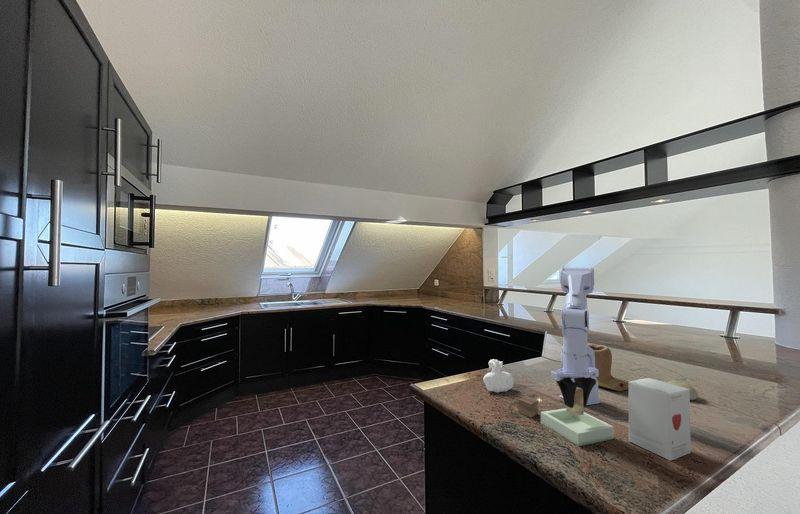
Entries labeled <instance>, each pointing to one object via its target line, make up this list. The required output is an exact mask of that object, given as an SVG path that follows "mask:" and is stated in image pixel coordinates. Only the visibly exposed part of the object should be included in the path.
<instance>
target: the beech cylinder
mask: <svg viewBox="0 0 800 514" xmlns="http://www.w3.org/2000/svg"><path fill="white" fill-rule="evenodd" d="M565 408H566V410H567V412H569V413H571V414H575V415H583V414H584V412H585V411H584V409H585V408H584V406H583V389H581V388H578V387H577V388H576V391H575V396H574V406H573V408H570V407H568V406H566V405H565Z"/></svg>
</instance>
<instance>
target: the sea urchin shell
mask: <svg viewBox="0 0 800 514" xmlns="http://www.w3.org/2000/svg"><path fill="white" fill-rule="evenodd" d="M665 382H666V383H669V384H673V385H677V386H680V387H684V388H687V389H689V390H690V401H695V400H697V399H698V396H699V395H698V392H697V390H696V389H695V388H694V387H693V386H692V385H690V384H688V383H686V382H683V381H679V380H669V381H665Z"/></svg>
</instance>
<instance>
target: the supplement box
mask: <svg viewBox="0 0 800 514" xmlns="http://www.w3.org/2000/svg"><path fill="white" fill-rule="evenodd" d="M628 382H629V389H628V442H630V443H632V444H634V445H636V446H638V447H640V448H643V449H644V450H647V451H648V452H651V453H653V454H656V455H657V456H660V457H662V458H664V459H666V460H668V461H673V460H677V459H678V458H680V457H684V456H686V455H689V454H691V450H692V449H691V448H692V447H691V445H692V443H691V405H690V403H691V400H690V390H689V389H687V388H684V387H680V386H677V385H673V384H669V383H666V382H667V381H661V380H658V379H655V378H652V377H647V378H639V379H636V380H629V381H628Z"/></svg>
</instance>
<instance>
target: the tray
mask: <svg viewBox="0 0 800 514" xmlns="http://www.w3.org/2000/svg"><path fill="white" fill-rule="evenodd" d="M540 424H541V425H544V426H545V427H546V428H547V429H549V430H551V431H553V432H554V433H556V434H557V435H559V436H560V437H563V438H564V439H566V440H567V441H569V442H571V443H572V444H573V445H576V446H577V447H582V446H586V445H587V446H588V445H591V444H598V443H601V442H605V441H606V442H607V441H610V440H615V426H614V425H611V424H609V423H607V422H605V421H603V420H601V419H599V418H597V417H595V416H592V415H591V414H588V413H587V412H585V411H584V414H583V415H575V414H571V413H569V412H567V410H566V407H564V408H559V409H552V410H546V411H541V412H540Z"/></svg>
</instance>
